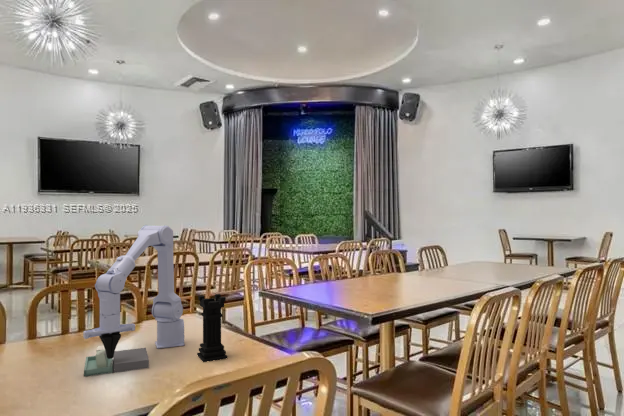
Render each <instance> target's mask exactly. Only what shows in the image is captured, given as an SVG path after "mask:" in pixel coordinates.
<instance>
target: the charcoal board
mask: <svg viewBox="0 0 624 416" xmlns="http://www.w3.org/2000/svg"><path fill="white" fill-rule="evenodd" d="M112 362H113V374H114V373H120V372H121V373H122V372H128V371H129V372H130V371H135V370H137V371H138V370H143V369H149V368H150V359H149V355H148V351H147V347H140V348H132V349H129V348H128V349H121V350H115V352H114V356H113V358H112Z"/></svg>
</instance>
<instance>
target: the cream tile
mask: <svg viewBox="0 0 624 416" xmlns="http://www.w3.org/2000/svg"><path fill="white" fill-rule="evenodd" d="M104 349H105V348H104V345H98V346H97V347H96V351H95V354H96V353H97V351H100V350H104ZM96 365H97V362H96Z"/></svg>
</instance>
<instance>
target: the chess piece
mask: <svg viewBox="0 0 624 416" xmlns="http://www.w3.org/2000/svg"><path fill="white" fill-rule="evenodd" d="M226 300H227V299H226V297H225V296H222V294H220V293H217V294H216V293H215V294H214V298H213V297H212V298H208V297H207V298H205V295H198V301H199V306H200V307H201V308H202V312H201V316H202V343H199V347H200V348H199V347H198V352H196V356H197V355H198V356H197V357H198V358H199V359H200V361H201V360H202V361H203V362H202V361H201V362H202V363H208V362H207V361H209V362H214V361H213V360H215V361H221V360H226V358H227V359H228V355H227V354H226V353H227V352H226V349H225V345H224V344H223V343H222V318H223V316H224V314H223V313H222V308H225V302H226ZM220 359H221V360H220Z"/></svg>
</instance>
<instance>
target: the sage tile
mask: <svg viewBox="0 0 624 416" xmlns="http://www.w3.org/2000/svg"><path fill="white" fill-rule="evenodd" d="M94 356H96V362H97V367H98V368H102V367H107V366H108V359H107V355H106V351H105V349H104V350H100V351H97V353H96V352H95V355H94Z"/></svg>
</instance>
